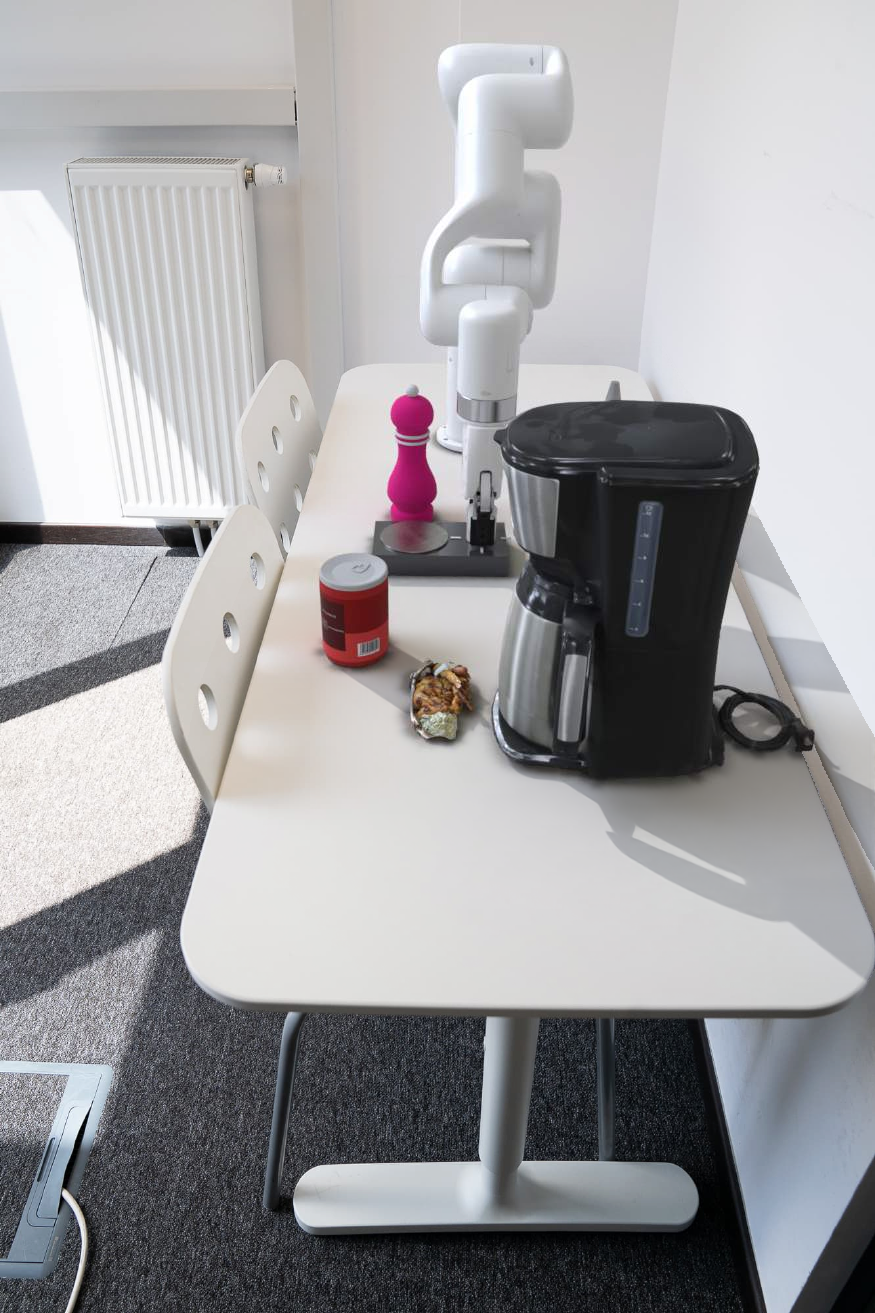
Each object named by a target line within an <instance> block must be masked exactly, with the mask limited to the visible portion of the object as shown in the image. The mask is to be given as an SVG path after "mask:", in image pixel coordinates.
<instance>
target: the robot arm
mask: <svg viewBox="0 0 875 1313" xmlns="http://www.w3.org/2000/svg"><path fill="white" fill-rule="evenodd" d="M437 80H438V86H439V91H440V95H441V98H442V101H443V104H444V106H445V109H446V112H447V114H448V117H449V119H450V122H451V126H452V130H453V133H454V142H455V151H454V152H455V153H454V154H455V155H454V156H455V157H454V158H455V161H454V200H453V201H454V204H453V206H452V207H450V209H449V210H448V212H446V214H445V215H443V217H442V218H441V220H439V222H438V223H437V224H436V226H435V227H434V229H433V230H432V232H431V234H430V236H429V238H428V239H427V242H426V244H425V247H424V249H423V254H422V256H421V262H420V263H421V264H420V272H419V273H420V274H419V275H420V276H419V278H420V279H419V326H420V330H421V333H422V335H423V338H424V339H425V340H426V341H427V342H428V343H430V344H432V345H433V346H438V347H447V356H446V357H447V361H446V363H447V364H446V366H447V367H446V369H447V370H446V408H445V410H446V411H445V412H446V413H445V424H443V425H442V426H440V427H439V429H437V431H436V440H437V442H438V443H439V444H440V446H442V447H444V448H446V449H448V450H451V451H454V452H459V453H461V470H460V471H461V472H460V473H461V474H460V475H461V496H462V498H463V499H464V500H466V501H468V500H469V501H468V502H469V503H468V505H469V504H471V503H473V517H471V520H470V545H472V546H492V545H494V533H495V517H494V505H495V501H497V500H499V499H500V498H501V496H502V495H501V494H502V486H503V476H504V469H503V467H502V462H501V451H500V448H501V446H500V445H499V444H498V443H497V442H496V441H494V440H493V437H494V434H495V432H496V431H497V430H501V429H506V428H507V426H508V425H509V423H510V422H511V420H512V419H514V418H515V417H516V416H517V408H518V407H517V406H518V388H519V372H520V358H521V345H522V344H523V342H524V341H525V340H526V337H527V335H529V334H530V333H531V331H532V328H533V321H534V311H537V310H538V311H539V310H542V309H545V308H547V307H548V306H549V305H550V304H551V302H552V300H553V298H554V294H555V289H556V282H557V273H558V272H557V271H558V270H557V269H558V260H559V245H560V235H561V221H562V190H561V186H560V183H559V180H558V179H557V177H556V176H555V175H554V174H552V173H551V172H549V171H545V170H539V169H524V167H525V150H559V149H561V148H563V147H564V146H565V145H567V143H568V141H569V139H570V137H571V133H572V129H573V124H574V115H575V100H574V99H575V97H574V96H575V95H574V88H573V82H572V76H571V71H570V64H569V60H568V57H567V55H566V53H565V51H564V50H563V49H562V48H561V47H558V46H555V45H550V44H549V45H548V44H527V43H525V44H523V43H520V44H519V43H517V44H516V43H499V42H497V43H495V42H494V43H493V42H470V43H460V44H454V45H452V46H450V47H447V48H446V49H444V50H443V52H442V53H441V54H440V56H439V58H438V62H437ZM469 238H474V239H475V238H476V239H488V240H489V239H490V240H492V239H493V240H498V239H499V240H524V241H526V242H527V243H528V244H502V243H501V244H500V243H471V244H470V243H469V244H465V245H460V244H461V243H463V242H464V241H466V240H467V239H469ZM442 276H443V281H442ZM479 501H480V506H478V507H477V502H479Z"/></svg>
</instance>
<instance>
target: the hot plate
mask: <svg viewBox="0 0 875 1313" xmlns="http://www.w3.org/2000/svg"><path fill="white" fill-rule="evenodd" d="M398 522H403V521H392V520H375V521H374V528H373V541H372V548H371V555H374V556H377V557H379V558H381V559H382V560H383V561H384V562H385V563H386V565H387V569H388V576H431V577H432V576H433V577H434V576H435V577H438V576H440V577H442V576H443V577H444V576H445V577H508V576H509V561H510V560H509V559H510V555H509V548H508V546H509V545H508V541H511V540H512V537H510V536H507V531H506V525H505V522H502V521H499V522H498V521H496V539H495V541H494V545H492V546H472V545H470V542H468V541H467V539H466V525H467V521H431V522H430V523H433V524H436V525H439V526H440V527H442V528H444V529H445V530H446V532H447V533H448V542H447V543H446V545H444V546H443V547H442V548H440V549H438V550H436V551H433V552H429V553H423V554H407V553H400V552H396V551H393V550H391V549H389V548H387V547H386V546H384V545H383V544H382V542H381V540H380V535H381V532H382V531H383V530H384V529H385V528H386V527H388V526H390V525H392V524H394V523H398ZM425 522H426V521H425Z"/></svg>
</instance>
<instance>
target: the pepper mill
mask: <svg viewBox="0 0 875 1313" xmlns="http://www.w3.org/2000/svg"><path fill="white" fill-rule="evenodd" d="M419 392H420V390H419V387H418V386H417V385H416V384H408V385H407V386H406V388H405V394H403V395H401V396H399V397H398V398H396V399H395V400H394V401H393V403H392V405H391V408H390V414H389V415H390V416H389V417H390V421H391V423H392V424H393V426H394V427H395V429H394V430H393V433H394V437H393V439H394V442H396V443H397V457H396V458H397V459H396V462H395V465H394V467H393V469H392V472H391V473H390V476H389V478H388V482H387V488H386V495H387V498H388V499H389V501H390V502H391V503H392V504H391V505H390V520H391V521H426V522H433V520H434V505H433V504H432V503H433V502H434V501H435V500H436V498H437V495H438V486H437V481H436V479H435V475H434V473H433V471H432V470H431V467H430V465H429V463H428V458H427V445H428V443H429V442H430V440H431V436H430V434H431V430H430V428H429V427H431V425H432V424H433V422H434V416H435V411H434V407H433V405H432V403H431V401H430V400H429V399H428V398H427V397H425V396H423V395H420V394H419Z"/></svg>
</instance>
